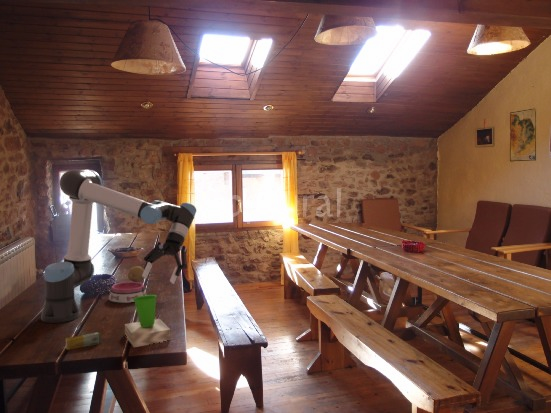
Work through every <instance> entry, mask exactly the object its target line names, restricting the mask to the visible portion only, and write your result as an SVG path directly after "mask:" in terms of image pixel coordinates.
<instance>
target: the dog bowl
mask: <svg viewBox="0 0 551 413" xmlns="http://www.w3.org/2000/svg"><path fill="white" fill-rule="evenodd" d="M145 295H147V291H146V287H145V285H144V284H143V283H142V282H140V283H139V282H133V281H124V282H118V283H114V284H113V285H112V286H111V288H110V291H109V296H108V299H107V300H108V301H109V302H110V303H113V304H118V303H129V304H132V303H131V302H134V300H133V299H134V298H136V297H139V296H145Z"/></svg>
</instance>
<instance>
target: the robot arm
mask: <svg viewBox="0 0 551 413" xmlns="http://www.w3.org/2000/svg"><path fill="white" fill-rule="evenodd" d="M59 188H60V190H61V192H62V193H64V194H65V195H66V196H68V199H69V200H70V201H71V202H72V203H71V215H70V216H71V217H70V228H69V236H68V238H69V239H68V247H67V248H68V251H67V253H66V254H65V255H64V256H63V261H57V262H56V263H54V262H53V263H50V264H48V265H46V267H45V268H44V272H43V273H44V274H43V280H44V304H43V308H42V311H41V313H40V321H42V322H43V323H46V324H47V323H50V324H56V323H58V324H59V323H66V322H70V321H73V320H76V319H77V318H78V317H79V316H80V309H79V307H78V304H77V302H76V299H75V288H78V287H79V286H82V285H85V284H86V283H87V282H89V281H90V280H91V279H92V278H93V276H94V274H95V266H94V264H93V262H92V257H91V256H90V254H89V248H90V236H91V226H92V225H91V224H92V213H93V205H94V204H95V203H96V204H98V205H101V206H103V207H107V208H109V209H112V210H115V211H118V212H121V213H124V214H127V215H130V216H132V217H135V218H137V219H140V220H141V221H142V222H143V223H145V224H148V225H150V224H151V225H154V224H157V223H159V222H162V221H168V222H171V223H172V225H171V227H170V228H169V232H168V233H167V236H166V237H165V242H164V243H161V242H160V241H159V242H157V244H156V245H155V246H154V247H153V248H152V249H151V250H150V251H149V252H148V253H147V254H146V255H145V256H144V257H143V260H144V261H145V265H144V267H143V269H144V272H143V274H142V276H143V277H144V278H143V279H147V278H148V276H149V273H150V271H151V269H152V267H153V263H155V262H157V260H159V259H160V258H162V257H163V256H171V257H174V260H175V262H176V265H177V266H175V267H174V269H173V272H172V275H171V276H170V279H169V282H170V283H171V284H173V285H175V282H176V280H177V278H178V277H179V276H180V275H181V272H182V270H183V269H184V270H186V269H187V268H188V261H187V252H188V248H187V247H186V246H185V245H184V242H185V240H186V238H187V235H188V233H189V230H190V227H191V226H192V223H193V222H194V219H195V216H196V213H197V207H196V206H195V205H194V204H191V203H190V202H181V204H180V205H176V204H171V203H168V202H166V201H163V200H156V199H155V200H153V201H152V202H148V201H146V200H143V199H139V198H137V197H134V196H131V195H128V194H126V193H123V192H120V191H117V190H114V189H111V188H109V187H106V186H103V179H102V177H101V176H100V175H99V173H98V172H97V171H95V170H92V169H87V168H86V169H85V168H83V169H82V168H81V169H70V170H67V171H65V172H64V173H63V174H62V175H61V177H60V179H59ZM179 252H180V253H181V255H179ZM180 256H181V259H180Z"/></svg>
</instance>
